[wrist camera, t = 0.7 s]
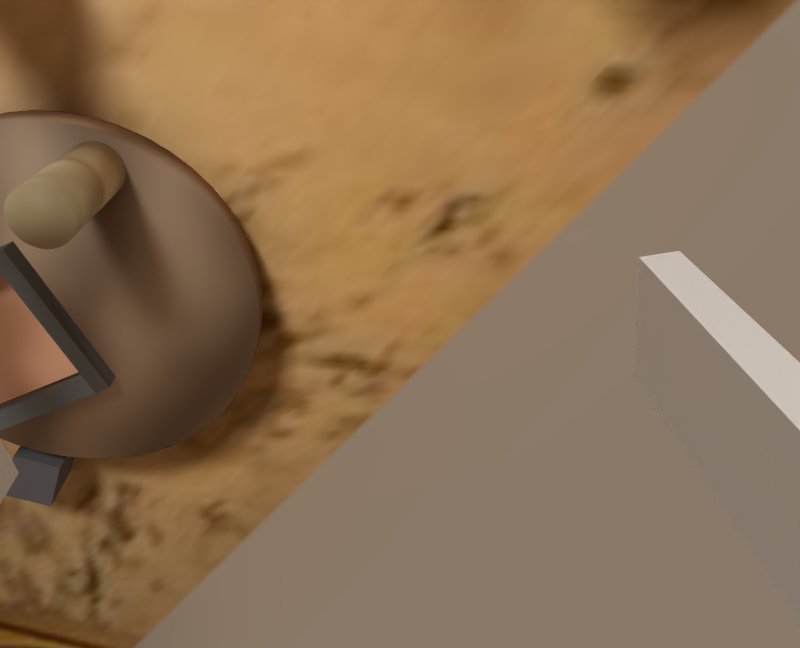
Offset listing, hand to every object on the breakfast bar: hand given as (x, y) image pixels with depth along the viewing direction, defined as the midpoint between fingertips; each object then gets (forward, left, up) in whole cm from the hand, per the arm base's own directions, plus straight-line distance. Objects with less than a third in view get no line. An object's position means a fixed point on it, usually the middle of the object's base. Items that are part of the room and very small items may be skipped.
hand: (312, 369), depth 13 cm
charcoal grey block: (-9, -24, -21) cm, 33 cm away
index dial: (-9, -12, -20) cm, 25 cm away
